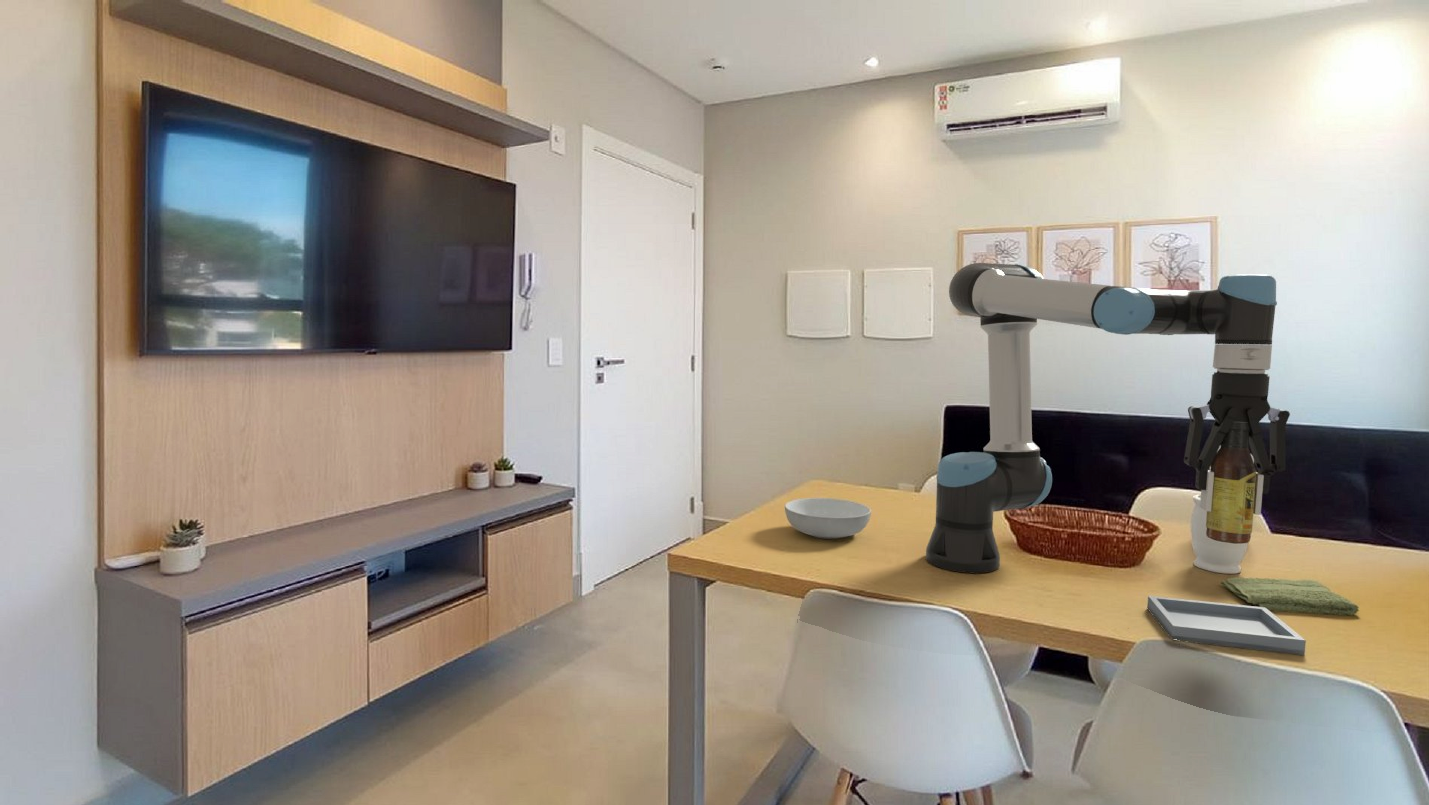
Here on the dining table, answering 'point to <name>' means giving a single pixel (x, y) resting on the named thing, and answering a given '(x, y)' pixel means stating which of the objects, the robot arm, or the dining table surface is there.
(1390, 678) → the dining table surface
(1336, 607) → the washcloth
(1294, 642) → the tray
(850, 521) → the serving bowl
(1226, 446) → the sauce bottle
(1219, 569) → the jar
